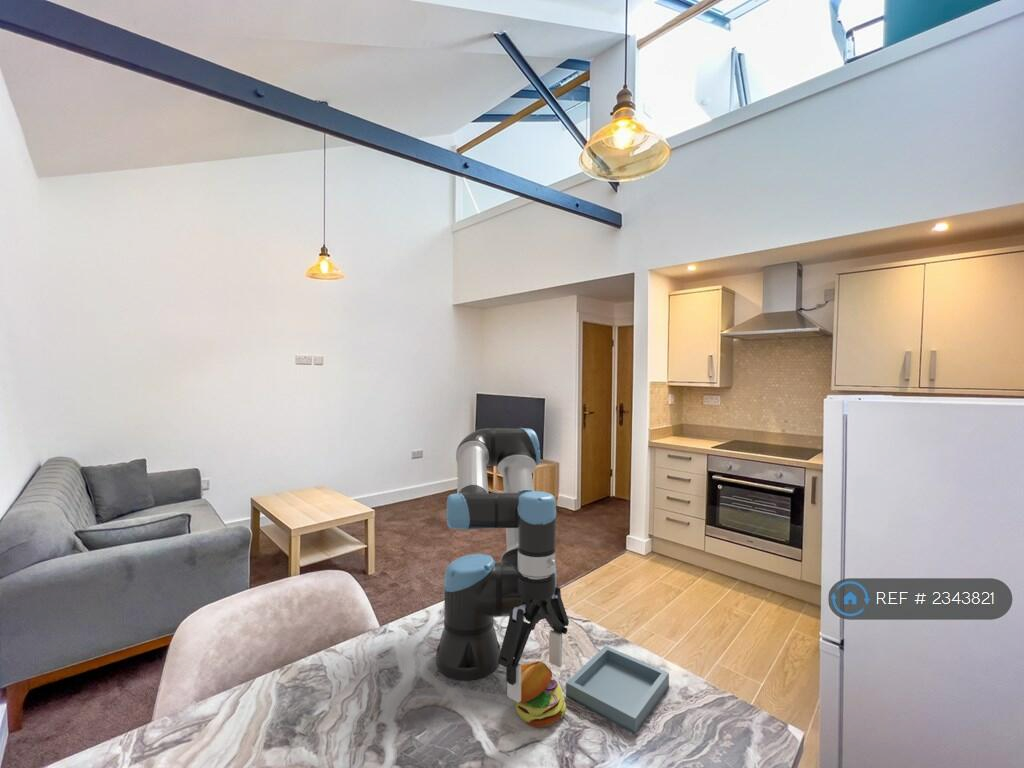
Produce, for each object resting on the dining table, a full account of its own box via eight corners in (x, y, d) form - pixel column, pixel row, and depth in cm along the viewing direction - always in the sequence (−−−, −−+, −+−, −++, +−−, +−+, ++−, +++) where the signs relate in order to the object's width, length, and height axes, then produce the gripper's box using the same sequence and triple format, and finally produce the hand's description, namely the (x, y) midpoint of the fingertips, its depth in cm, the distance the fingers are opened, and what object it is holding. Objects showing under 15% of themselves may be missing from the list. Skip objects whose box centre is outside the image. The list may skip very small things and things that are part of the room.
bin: (566, 697, 91) (566, 682, 91) (605, 658, 104) (605, 645, 104) (635, 734, 81) (635, 718, 81) (668, 686, 94) (668, 672, 94)
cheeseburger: (565, 736, 80) (552, 682, 81) (510, 740, 82) (498, 688, 83) (569, 697, 90) (557, 649, 91) (520, 702, 92) (509, 655, 93)
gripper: (510, 600, 75) (509, 726, 74) (585, 558, 94) (584, 658, 93) (479, 587, 80) (478, 705, 79) (556, 550, 99) (555, 645, 98)
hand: (536, 680), depth 86 cm, fingers open, 13 cm apart
